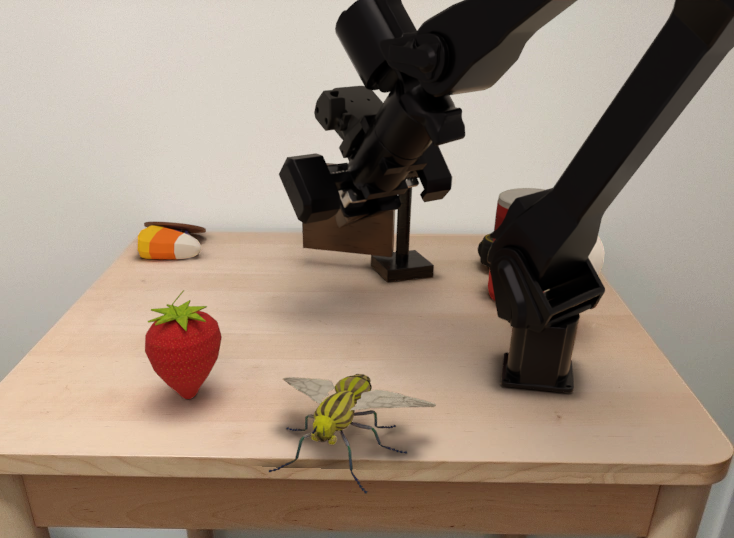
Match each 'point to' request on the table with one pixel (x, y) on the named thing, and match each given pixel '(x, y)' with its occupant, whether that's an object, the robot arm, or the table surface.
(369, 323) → the table surface
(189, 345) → the strawberry
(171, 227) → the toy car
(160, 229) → the candy corn
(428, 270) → the door post
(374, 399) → the insect
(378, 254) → the door
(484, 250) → the tape measure
